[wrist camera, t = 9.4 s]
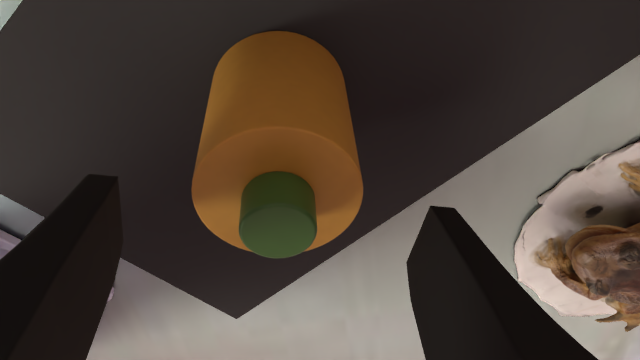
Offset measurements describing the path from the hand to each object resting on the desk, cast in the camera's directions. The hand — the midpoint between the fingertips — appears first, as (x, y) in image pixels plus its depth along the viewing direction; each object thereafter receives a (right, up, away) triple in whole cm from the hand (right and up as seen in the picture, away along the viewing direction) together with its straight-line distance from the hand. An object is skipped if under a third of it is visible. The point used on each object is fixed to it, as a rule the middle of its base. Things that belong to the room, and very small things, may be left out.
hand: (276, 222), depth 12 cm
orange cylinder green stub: (0, +4, +4) cm, 6 cm away
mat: (0, +4, +5) cm, 6 cm away
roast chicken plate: (+15, -1, +10) cm, 18 cm away
